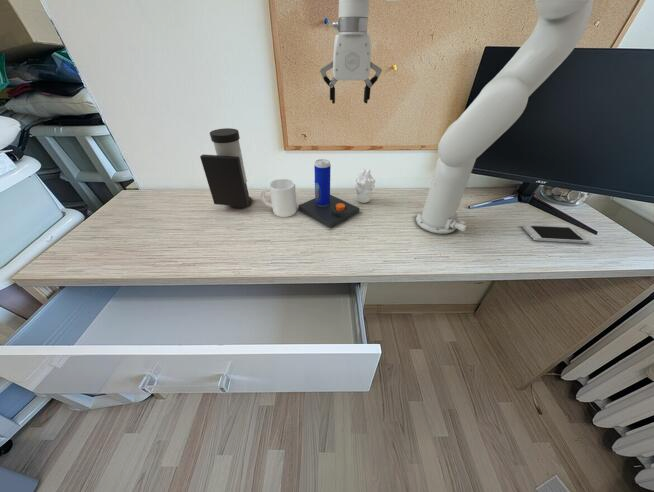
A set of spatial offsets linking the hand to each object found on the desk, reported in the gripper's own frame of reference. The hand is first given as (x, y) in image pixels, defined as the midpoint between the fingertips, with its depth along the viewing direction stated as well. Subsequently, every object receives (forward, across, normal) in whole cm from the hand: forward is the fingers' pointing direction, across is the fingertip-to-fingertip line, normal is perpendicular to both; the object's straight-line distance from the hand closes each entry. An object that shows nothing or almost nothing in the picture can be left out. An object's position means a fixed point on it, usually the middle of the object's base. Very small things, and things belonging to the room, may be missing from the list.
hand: (349, 102), depth 77 cm
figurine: (+33, +6, -2) cm, 33 cm away
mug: (+32, -24, -8) cm, 41 cm away
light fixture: (+32, -39, -3) cm, 51 cm away
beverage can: (+31, -8, -6) cm, 32 cm away
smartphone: (+33, +63, -24) cm, 75 cm away
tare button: (+29, -3, -13) cm, 32 cm away
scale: (+32, -7, -9) cm, 34 cm away
